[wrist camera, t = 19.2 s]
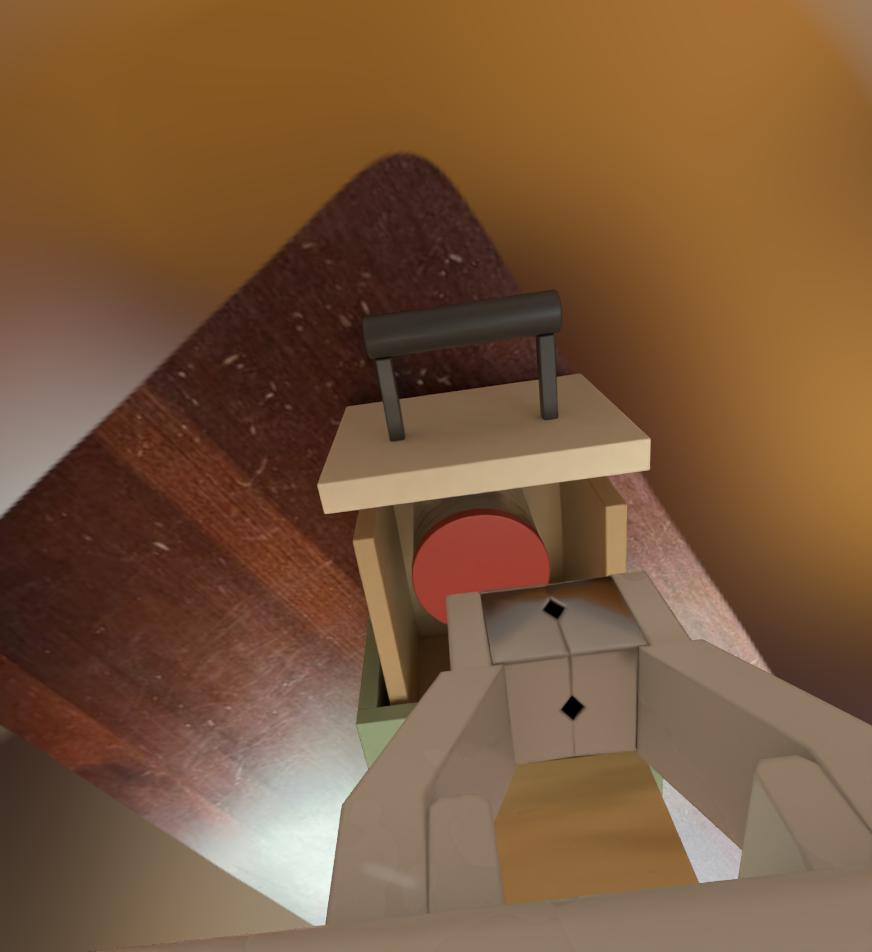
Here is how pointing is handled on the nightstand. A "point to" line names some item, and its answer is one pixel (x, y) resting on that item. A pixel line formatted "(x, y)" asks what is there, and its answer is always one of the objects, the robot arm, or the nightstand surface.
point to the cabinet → (389, 708)
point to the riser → (587, 830)
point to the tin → (475, 547)
